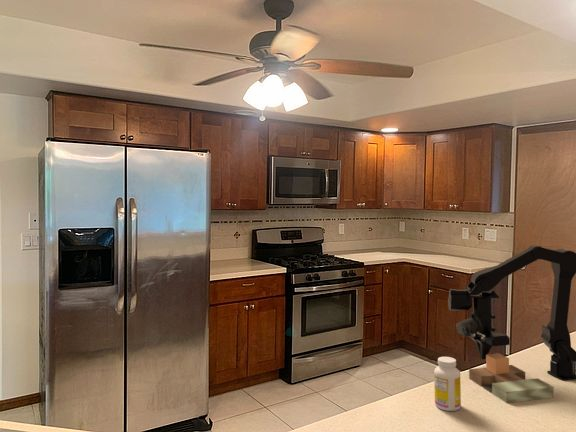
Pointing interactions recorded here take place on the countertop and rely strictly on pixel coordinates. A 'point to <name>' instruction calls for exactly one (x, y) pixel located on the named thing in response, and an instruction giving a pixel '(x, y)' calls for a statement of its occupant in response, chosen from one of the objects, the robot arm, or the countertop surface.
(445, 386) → the supplement bottle
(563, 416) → the countertop surface
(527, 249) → the robot arm
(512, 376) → the trap board
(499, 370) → the block
